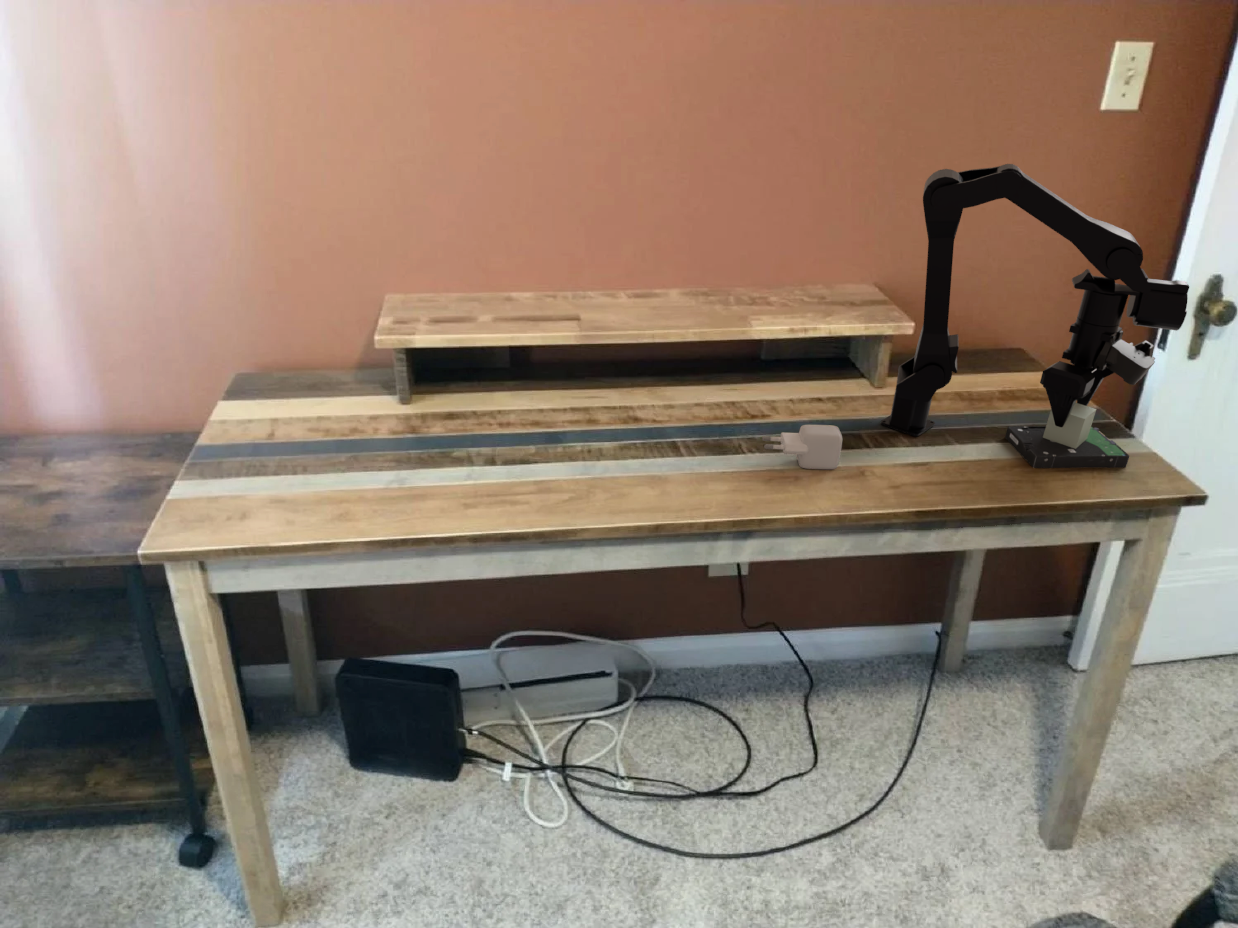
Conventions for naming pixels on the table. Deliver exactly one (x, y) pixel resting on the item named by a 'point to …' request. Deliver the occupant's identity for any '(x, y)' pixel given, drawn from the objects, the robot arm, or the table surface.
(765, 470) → the table surface
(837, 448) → the power adapter
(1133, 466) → the table surface
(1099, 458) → the disk drive
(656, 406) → the table surface
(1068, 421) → the sage block
